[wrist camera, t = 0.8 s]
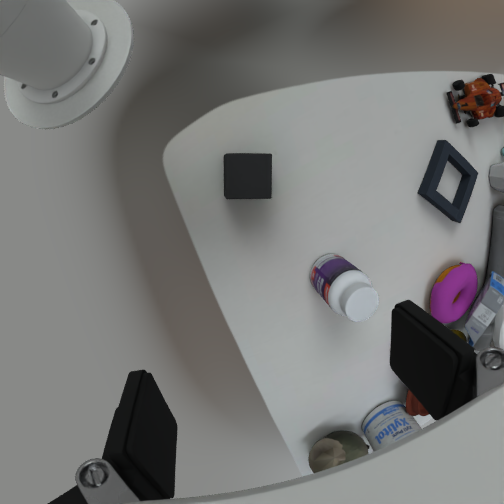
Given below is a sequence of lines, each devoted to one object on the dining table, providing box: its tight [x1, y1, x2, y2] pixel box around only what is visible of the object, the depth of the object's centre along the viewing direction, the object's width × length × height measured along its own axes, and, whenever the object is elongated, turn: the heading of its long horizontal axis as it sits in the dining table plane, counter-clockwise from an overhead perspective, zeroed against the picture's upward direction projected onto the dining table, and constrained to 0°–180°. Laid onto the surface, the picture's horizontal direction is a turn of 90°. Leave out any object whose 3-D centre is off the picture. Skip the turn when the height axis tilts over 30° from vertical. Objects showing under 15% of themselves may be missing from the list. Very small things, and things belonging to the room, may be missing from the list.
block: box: [224, 153, 272, 199], centre depth 32 cm, size 5×5×4 cm
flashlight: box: [473, 205, 504, 351], centre depth 42 cm, size 5×28×5 cm
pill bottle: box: [310, 254, 379, 322], centre depth 34 cm, size 5×5×10 cm
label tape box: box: [465, 271, 504, 347], centre depth 39 cm, size 9×4×12 cm
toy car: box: [447, 74, 504, 127], centre depth 32 cm, size 8×16×4 cm, turn 114°
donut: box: [430, 262, 477, 323], centre depth 40 cm, size 10×10×5 cm
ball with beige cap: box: [309, 431, 369, 473], centre depth 44 cm, size 10×12×10 cm
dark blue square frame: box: [418, 140, 478, 223], centre depth 36 cm, size 9×9×2 cm
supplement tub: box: [362, 401, 421, 452], centre depth 42 cm, size 10×10×15 cm
